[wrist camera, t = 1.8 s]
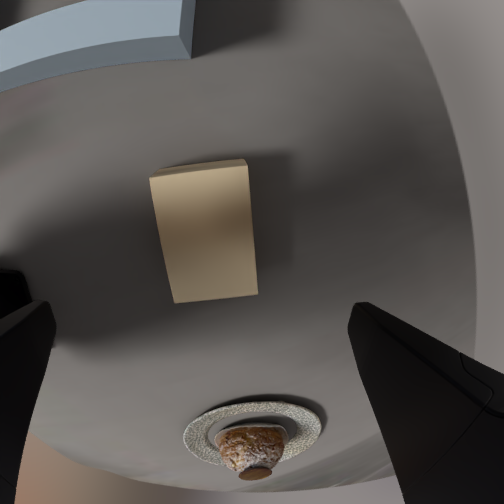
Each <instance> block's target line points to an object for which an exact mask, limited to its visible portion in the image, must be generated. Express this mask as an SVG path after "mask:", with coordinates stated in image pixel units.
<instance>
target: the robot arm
mask: <svg viewBox="0 0 504 504" xmlns="http://www.w3.org/2000/svg"><path fill="white" fill-rule="evenodd" d="M17 279H18V280H19V281H18V280H17ZM55 334H56V322H55V319H54V316H53V313H52V309H51V306H50V304H49V302H47V301H43V300H36V301H34V302H32V301H31V298H30V294H29V291H28V288H27V285H26V281H25V278H24V276H23V274H22V273H21V272H20V271H17V270H0V504H14V501H15V494H16V487H17V480H18V475H19V469H20V463H21V459H22V454H23V449H24V445H25V441H26V437H27V433H28V429H29V425H30V421H31V417H32V414H33V410H34V407H35V404H36V400H37V397H38V394H39V391H40V387H41V384H42V381H43V378H44V375H45V372H46V368H47V364H48V360H49V356H50V352H51V348H52V345H53V341H54V337H55ZM348 335H349V338H350V342H351V345H352V349H353V353H354V356H355V360H356V364H357V368H358V371H359V374H360V377H361V380H362V383H363V385H364V388H365V390H366V393H367V395H368V398H369V401H370V403H371V406H372V409H373V411H374V414H375V417H376V419H377V422H378V425H379V427H380V430H381V433H382V436H383V439H384V441H385V444H386V447H387V450H388V453H389V456H390V458H391V461H392V464H393V467H394V470H395V473H396V476H397V479H398V482H399V485H400V488H401V491H402V493H403V498H404V502H405V504H504V374H503V373H500V372H498V371H496V370H494V369H492V368H490V367H488V366H486V365H483V364H482V363H480V362H478V361H476V360H474V359H472V358H470V357H468V356H467V355H465V354H463V353H461V352H460V353H459V351H457V350H456V349H454V348H452V347H450V346H448V345H446V344H445V343H443V342H441V341H439V340H437V339H435V338H434V337H432V336H430V335H428V334H426V333H424V332H423V331H421V330H419V329H417V328H415V327H413V326H412V325H410V324H408V323H406V322H404V321H402V320H400V319H399V318H397V317H395V316H393V315H391V314H389V313H388V312H386V311H384V310H382V309H380V308H378V307H376V306H375V305H373V304H371V303H369V302H358V303H355V304H354V306H353V308H352V312H351V316H350V319H349V323H348Z"/></svg>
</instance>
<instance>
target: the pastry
mask: <svg viewBox="0 0 504 504" xmlns="http://www.w3.org/2000/svg"><path fill="white" fill-rule="evenodd" d="M258 411H259V412H260V411H265V412H275V413H280V414H283V415H286V416H288V417H290V418H291V419H292V420H294V422H295V423H296V425H297V432H296V434H295V436H294V437H293V438H292V439H291V440H290V441H289V438H288V433H287V431H286V430H285V428H283V426H280V425H276V424H274V423H271V424H270V423H260V422H259V423H246V424H238V425H235V426H232V427H228V428H225V429H223V430H221V431H220V432H218V433H217V434H216V436H215V438H214V439H215V440H214V441H215V444H216V445H217V446H218V447H219V449H218V448H216V447H215V446H213V445H212V444H211V443H210V441H209V440H208V431H209V429H210V428H211V426H212V425H214V424H215V423H216V422H218V421H219V420H221V419H223V418H226V417H228V416H232V415H235V414H240V413H246V412H258ZM321 428H322V425H321V422H320V419H319V417H318V416H317V415H316V414H315V413H313V412H312V411H311V410H309V409H307V408H305V407H301V406H298V405H294V404H289V403H285V402H284V401H278V402H271V401H269V402H250V403H241V404H234V405H230V406H224V407H221V408H217V409H215V410H212V411H210V412H207V413H205V414H203V415H201V416H199V417H198V418H196V419H195V420H194V421H192V422H191V423H190V424H189V425H188V426H187V428H186V429H185V431H184V434H183V440H184V443H185V445H186V447H187V449H188V450H189V451H190V452H192V453H193V454H194V455H195V456H196V457H198V458H199V459H201V460H204V461H206V462H209V463H212V464H216V465H221V466H228V467H229V468H230V469H231V470H234V471H242V472H241V473H240V474H239V478H241V479H242V480H259V479H263V478H266V477H268V476H269V475H271V474H272V471H271V469H272V468H273V467H275V465H276V464H277V463H278V462H281V461H284V460H287V459H290V458H292V457H295V456H296V455H298V454H300V453H302V452H303V451H305V450H307V449H308V448H309V447H311V446H312V445H313V444H314V443H315V442H316V440H317V439H318V437H319V435H320V432H321ZM288 441H289V442H288Z"/></svg>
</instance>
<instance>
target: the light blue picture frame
mask: <svg viewBox="0 0 504 504" xmlns="http://www.w3.org/2000/svg"><path fill="white" fill-rule="evenodd" d="M195 4H196V0H87V1H83V2H79V3H76V4H72V5H68V6H65V7H62V8H58V9H55V10H52V11H49V12H46V13H43V14H40V15H37V16H35V17H32V18H29V19H27V20H24V21H22V22H19V23H17V24H14V25H12V26H10V27H7V28H5V29H3V30H1V31H0V92H3V91H6V90H9V89H12V88H15V87H18V86H22V85H25V84H28V83H32V82H35V81H39V80H43V79H47V78H51V77H55V76H59V75H63V74H68V73H73V72H78V71H83V70H88V69H94V68H100V67H106V66H113V65H120V64H128V63H137V62H148V61H161V60H179V59H191V51H192V37H193V25H194V14H195Z"/></svg>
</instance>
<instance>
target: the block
mask: <svg viewBox="0 0 504 504" xmlns="http://www.w3.org/2000/svg"><path fill="white" fill-rule="evenodd" d="M149 181H150V187H151V193H152V199H153V204H154V210H155V215H156V221H157V226H158V231H159V236H160V241H161V246H162V251H163V256H164V260H165V265H166V269H167V274H168V278H169V283H170V287H171V291H172V295H173V299H174V303H183V302H193V301H203V300H213V299H222V298H231V297H240V296H249V295H257V294H258V287H257V274H256V262H255V249H254V237H253V225H252V212H251V200H250V188H249V176H248V165H247V164H246V162H245V160H244V159H233V160H224V161H215V162H206V163H198V164H190V165H183V166H176V167H169V168H163V169H159V170H158V171H156V172H155V173H154V174H153V175H152V176H151V177H150V178H149Z"/></svg>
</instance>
